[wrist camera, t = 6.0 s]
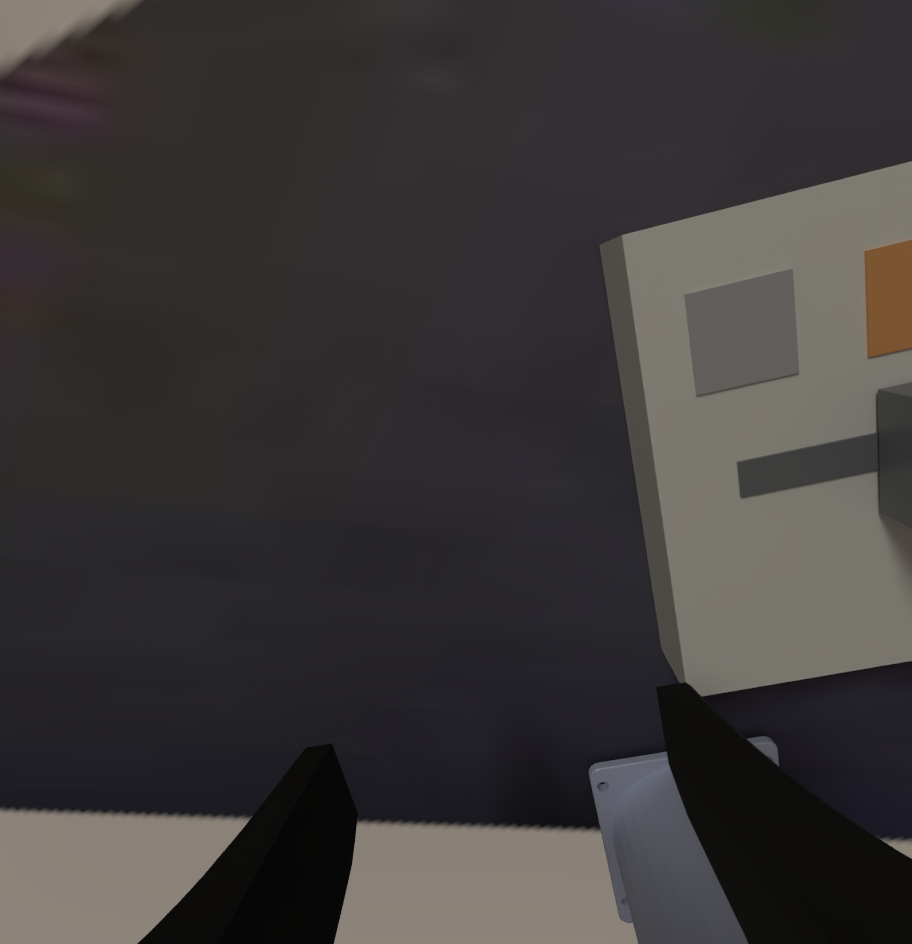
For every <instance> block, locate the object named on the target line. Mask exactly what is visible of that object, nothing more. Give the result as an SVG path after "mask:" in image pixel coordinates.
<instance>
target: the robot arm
mask: <svg viewBox="0 0 912 944" xmlns="http://www.w3.org/2000/svg"><path fill="white" fill-rule="evenodd" d="M656 689H657V695H658V701H659V707H660V713H661V720H662V726H663V732H664V738H665V744H666V751H667V752H662V753H655V754H649V755H643V756H637V757H631V758H624V759H618V760H612V761H606V762H600V763H596V764H593V765H592V766H591V767H590V769H589V777H590V782H591V787H592V791H593V796H594V801H595V805H596V810H597V815H598V820H599V824H600V829H601V834H602V838H603V843H604V848H605V852H606V857H607V861H608V867H609V871H610V876H611V880H612V885H613V890H614V895H615V899H616V904H617V909H618V913H619V917H620V919H621V920H623V921H624V922H627V923H632V922H633V924H634V928H635V932H636V936H637V940H638V944H912V859H911V858H909V857H907V856H906V855H904V854H902V853H901V852H899V851H897V850H895V849H894V848H893V847H891V846H889V845H888V844H886V843H885V842H883V841H882V840H880V839H879V838H877V837H876V836H874V835H872V834H871V833H869V832H868V831H866V830H865V829H863V828H862V827H860V826H859V825H857V824H856V823H854V822H853V821H852V820H850V819H849V818H847V817H846V816H844V815H843V814H841V813H840V812H838V811H837V810H836V809H834V808H833V807H831V806H830V805H829V804H827V803H826V802H824V801H823V800H822V799H820V798H819V797H818V796H816V795H815V794H814V793H812V792H811V791H810V790H808V789H807V788H806V787H805V786H803V785H802V784H801V783H799V782H798V781H797V780H796V779H794V778H793V777H792V776H790V775H789V774H788V773H787V772H785V771H784V770H783V769H782V768H780V767H779V759H778V749H777V746H776V745H775V743H774V742H773V740H772V739H771V738H769V737H766V736H761V737H755V738H748V739H746V738H745V737H744V736H743V735H742V734H741V733H739V732H738V731H737V730H736V729H735V728H734V727H733V726H732V725H731V724H730V723H729V722H727V721H726V720H725V719H724V718H723V717H722V716H721V715H720V714H719V713H718V712H717V711H716V710H715V709H714V708H713V707H712V706H711V705H710V704H709V703H708V702H707V701H706V700H705V699H704V698H703V697H702V696H701V695H700V694H699V693H698V692H697V691H696V690H695V689H694V688H693V687H692V686H691V685H689V684H688V683H686V682H684V683H678V684H672V685H666V686H661V687H656ZM602 782H606V783H604V784H599V783H602ZM357 816H358V813H357V810H356V807H355V805H354V802H353V799H352V797H351V794H350V791H349V788H348V786H347V783H346V780H345V778H344V775H343V772H342V770H341V767H340V764H339V761H338V759H337V756H336V753H335V751H334V748H333V745H332V743H331V744H325V745H320V746H314V747H308V748H306V749H305V750H304V751H303V752H302V754H301V755H300V756H299V757H298V759H297V760H296V761H295V762H294V764H293V765H292V766H291V768H290V769H289V770H288V771H287V773H286V774H285V775H284V777H283V778H282V779H281V781H280V782H279V783H278V784H277V786H276V787H275V788H274V790H273V791H272V792H271V794H270V795H269V796H268V798H267V799H266V800H265V801H264V803H263V804H262V805H261V806H260V808H259V809H258V810H257V812H256V813H255V814H254V815H253V817H252V818H251V819H250V820H249V822H248V823H247V824H246V826H245V827H244V828H243V829H242V831H241V832H240V833H239V834H238V835H237V837H236V838H235V839H234V840H233V841H232V843H231V844H230V845H229V846H228V847H227V848H226V850H225V851H224V852H223V853H222V854H221V855H220V857H219V858H218V859H217V860H216V861H215V863H214V864H213V865H212V866H211V867H210V868H209V870H208V871H207V872H206V873H205V875H204V876H203V877H202V878H201V879H200V880H199V881H198V882H197V883H196V885H195V886H194V887H193V888H192V889H191V890H190V891H189V892H188V893H187V894H186V895H185V896H184V897H183V899H182V900H181V901H180V902H179V903H178V904H177V905H176V906H175V907H174V908H173V909H172V910H171V911H170V912H169V913H168V914H167V915H166V916H165V917H164V918H163V919H162V920H161V921H160V922H159V924H157V925H156V926H155V927H154V928H153V929H152V931H150V932H149V933H148V934H147V935H146V936H145V937H144V938H143V939H142V940H141V941H140V942H139V943H138V944H334V940H335V936H336V932H337V927H338V923H339V919H340V915H341V910H342V906H343V902H344V897H345V893H346V889H347V884H348V880H349V875H350V870H351V866H352V859H353V852H354V844H355V834H356V825H357Z"/></svg>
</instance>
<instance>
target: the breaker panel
mask: <svg viewBox="0 0 912 944" xmlns="http://www.w3.org/2000/svg"><path fill="white" fill-rule="evenodd" d="M599 246H600V252H601V259H602V265H603V272H604V278H605V285H606V291H607V298H608V304H609V311H610V317H611V324H612V330H613V337H614V343H615V350H616V356H617V363H618V369H619V376H620V382H621V389H622V395H623V402H624V408H625V415H626V421H627V428H628V434H629V441H630V447H631V454H632V460H633V467H634V473H635V480H636V486H637V493H638V499H639V506H640V512H641V519H642V525H643V532H644V538H645V545H646V551H647V558H648V564H649V571H650V577H651V584H652V590H653V596H654V603H655V609H656V616H657V622H658V629H659V635H660V642H661V648H662V651H663V653H664V655H665V657H666V658H667V660H668V662H669V664H670V666H671V668H672V670H673V672H674V673H675V675H676V677H677V679H678V681H679V683H684V682H686V683H688V684H689V685H691V686H692V687H693V688H694V689H695V690H696V691H697V692H698V693H699V694H700V695H701V696H707V695H713V694H719V693H725V692H731V691H737V690H743V689H749V688H755V687H760V686H766V685H772V684H778V683H784V682H790V681H796V680H802V679H807V678H813V677H819V676H825V675H831V674H837V673H843V672H849V671H855V670H860V669H866V668H872V667H878V666H884V665H890V664H896V663H902V662H907V661H912V528H910V527H908V526H906V525H904V524H902V523H900V522H898V521H896V520H894V519H893V518H891V517H889V516H887V515H885V514H883V513H881V512H880V469H879V424H878V389H882V388H887V387H891V386H896V385H901V384H905V383H910V382H912V161H911V162H908V163H904V164H900V165H896V166H892V167H888V168H884V169H880V170H876V171H872V172H868V173H864V174H860V175H856V176H853V177H849V178H845V179H841V180H837V181H833V182H829V183H825V184H821V185H817V186H813V187H809V188H805V189H802V190H798V191H794V192H790V193H786V194H782V195H778V196H774V197H770V198H766V199H762V200H758V201H754V202H751V203H747V204H743V205H739V206H735V207H731V208H727V209H723V210H719V211H715V212H711V213H707V214H703V215H699V216H696V217H692V218H688V219H684V220H680V221H676V222H672V223H668V224H664V225H660V226H656V227H652V228H648V229H645V230H641V231H637V232H633V233H629V234H625V235H621V236H619V237H617V238H615V239H612V240H610V241H608V242H606V243H603V244H601V245H599Z"/></svg>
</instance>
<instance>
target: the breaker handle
mask: <svg viewBox="0 0 912 944" xmlns="http://www.w3.org/2000/svg"><path fill="white" fill-rule="evenodd" d="M878 424H879V469H880V512H881V513H883V514H885V515H887V516H889V517H891V518H893V519H894V520H896V521H898V522H900V523H902V524H904V525H906V526H908V527H910V528H912V382H910V383H905V384H901V385H896V386H891V387H887V388H882V389H878Z"/></svg>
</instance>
